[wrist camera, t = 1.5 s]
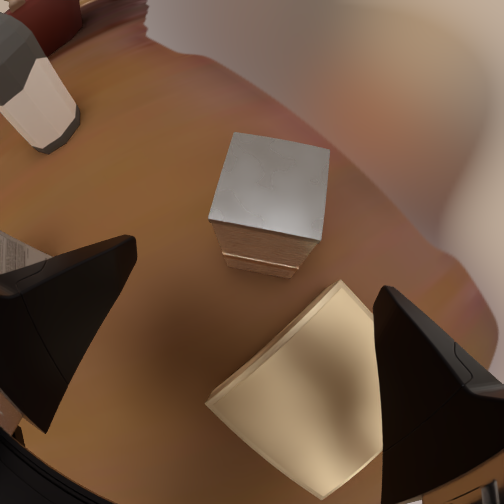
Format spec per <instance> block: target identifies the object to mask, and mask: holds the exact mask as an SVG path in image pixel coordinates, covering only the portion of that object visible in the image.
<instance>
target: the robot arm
mask: <svg viewBox="0 0 504 504" xmlns="http://www.w3.org/2000/svg"><path fill="white" fill-rule="evenodd" d="M136 261H137V247H136V239H135V237H134V236H130V235H121V236H118V237H115V238H111V239H108V240H105V241H101V242H98V243H95V244H92V245H89V246H85V247H82V248H79V249H76V250H73V251H70V252H67V253H64V254H61V255H58V256H55V257H52V258H49V259H48V260H47V259H46V260H43V261H40V262H37V263H34V264H32V265H29V266H25V267H22V268H19V269H16V270H13V271H9V272H6V273H3V274H0V504H117V503H115V502H113V501H111V500H109V499H106V498H104V497H102V496H100V495H98V494H96V493H95V492H93V491H91V490H89V489H87V488H85V487H83V486H82V485H80V484H78V483H76V482H75V481H73V480H71V479H70V478H68V477H67V476H65V475H63V474H62V473H60V472H59V471H57V470H56V469H54V468H53V467H51V466H50V465H48V464H47V463H45V462H44V461H43V460H41V459H40V458H39V457H37V456H36V455H35V454H33V453H32V452H31V451H29V450H28V449H27V448H26V447H25V444H24V439H23V435H22V430H21V427H19V426H18V424H19V423H20V421H21V419H22V417H23V418H24V419H26V420H27V421H28V422H30V423H31V424H32V425H34V426H35V427H36V428H38V429H39V430H40V431H42V432H43V433H45V434H46V433H47V431H48V429H49V427H50V424H51V422H52V420H53V417H54V415H55V413H56V411H57V409H58V406H59V404H60V402H61V400H62V398H63V396H64V394H65V392H66V389H67V387H68V385H69V383H70V381H71V379H72V377H73V375H74V373H75V371H76V369H77V367H78V365H79V364H80V362H81V360H82V358H83V356H84V354H85V352H86V351H87V349H88V347H89V345H90V343H91V342H92V340H93V338H94V336H95V335H96V333H97V331H98V329H99V328H100V326H101V324H102V323H103V321H104V319H105V317H106V316H107V314H108V313H109V311H110V309H111V308H112V306H113V304H114V303H115V301H116V300H117V298H118V296H119V295H120V293H121V291H122V289H123V287H124V285H125V283H126V281H127V279H128V277H129V275H130V273H131V271H132V269H133V267H134V265H135V263H136ZM373 321H374V344H375V353H376V361H377V369H378V378H379V389H380V401H381V416H382V441H383V465H382V495H381V504H407V503H411V502H415V501H419V500H422V504H504V384H502V383H501V382H500V381H498V380H497V379H496V378H495V377H494V376H493V375H492V374H491V373H490V372H488V371H487V370H486V369H485V368H484V367H483V366H482V365H480V364H479V363H478V362H477V361H476V360H475V359H474V358H473V357H471V356H470V355H469V354H468V353H467V352H466V351H465V350H464V349H463V348H462V347H461V346H460V345H459V344H458V343H457V342H454V340H453V339H452V338H451V337H450V336H449V335H448V334H447V333H446V332H445V331H444V330H442V329H441V328H440V327H439V326H438V325H437V324H436V323H435V322H434V321H433V320H431V319H430V318H429V317H428V316H427V315H426V314H425V313H423V312H422V311H421V310H420V309H419V308H418V307H417V306H415V305H414V304H413V303H412V302H411V301H410V300H409V299H407V298H406V297H405V296H404V295H403V294H401V293H400V292H399V291H398V290H397V289H395V288H394V287H391V286H386V285H384V286H383V287H382V288H381V290H380V292H379V294H378V296H377V298H376V300H375V302H374V305H373Z"/></svg>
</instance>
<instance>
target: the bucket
mask: <svg viewBox="0 0 504 504" xmlns="http://www.w3.org/2000/svg"><path fill="white" fill-rule="evenodd" d="M5 1H8V2H9V8H10V9H9V10H7V11H6V12H5V13H4V14H7V15H10V16H12V17H14V18H16V19H17V20H19V21H20V22H22V23H23V24H24V25H25V26H26V27H28V28H29V29H30V30H31V31H32V32H33V34H34V36H35V38H36V40H37V41H38V43H39V45H40V47H41V48H42V50H43V52H44V54H45V55H46V57H48V56H49V55H50V54H52V53H53V52H54V51H56V50H57V49H58V48H60V47H61V46H63V45H64V44H65V43H67V42H68V41H70V40H71V39H72V38H73V37H74V36H75V34H76V33H77V32H78V31H79V30H80V29H81V27H82V26H83V25H82V18H81V11H80V4H79V0H5Z"/></svg>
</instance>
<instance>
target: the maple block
mask: <svg viewBox="0 0 504 504" xmlns="http://www.w3.org/2000/svg"><path fill="white" fill-rule="evenodd" d="M205 405H206V406H207V407H208V408H209V409H210V410H211V411H212V412H213V413H214V414H215V415H216V416H217V417H218V418H219V419H220V420H221V421H223V422H224V423H225V424H226V425H227V426H228V427H229V428H230V429H231V430H232V431H233V432H234V433H235V434H236V435H238V436H239V437H240V438H241V439H242V440H243V441H244V442H245V443H246V444H248V445H249V446H250V447H251V448H252V449H253V450H255V451H256V452H257V453H258V454H259V455H261V456H262V457H263V458H264V459H265V460H267V461H268V462H269V463H270V464H272V465H273V466H274V467H275V468H277V469H278V470H279V471H281V472H282V473H283V474H285V475H286V476H287V477H289V478H290V479H291V480H293V481H294V482H296V483H297V484H298V485H300V486H301V487H303V488H304V489H306V490H307V491H308V492H310V493H311V494H313V495H314V496H316V497H318V498H319V499H321V500H323V499H324V498H326V497H327V496H328V495H330V494H331V493H332V492H334V491H335V490H337V489H338V488H339V487H340V486H342V485H343V484H344V483H346V482H347V481H348V480H349V479H351V478H352V477H353V476H354V475H355V474H357V473H358V472H359V471H360V470H361V469H362V468H364V467H365V466H366V465H367V464H368V463H369V462H370V461H371V460H373V459H374V458H375V457H376V456H377V455H378V454H379V453H380V452H381V451H382V450H383V441H382V416H381V401H380V389H379V378H378V369H377V361H376V353H375V344H374V321H373V314H372V313H371V312H370V311H369V310H368V308H367V307H366V306H365V305H364V304H363V303H362V302H361V301H360V300H359V299H358V298H357V296H356V295H355V294H354V293H353V292H352V291H351V290H350V289H349V288H348V287H347V286H346V285H345V284H344V283H343V281H342V280H339V281H337V282H335V283H334V284H332V285H330V286H328V287H327V288H325V289H324V290H323V291H322V292H321V293H320V294H319V295H318V296H317V297H316V298H315V299H314V300H313V301H312V302H311V303H310V304H309V305H308V306H307V307H306V308H305V309H304V310H303V311H302V312H301V313H300V314H299V315H298V316H297V317H296V318H295V319H294V320H293V321H292V322H290V323H289V324H288V325H287V326H286V327H285V328H284V329H283V330H282V331H281V332H280V333H279V334H278V335H277V336H276V337H274V338H273V339H272V340H271V341H270V342H269V343H268V344H267V345H266V346H265V347H263V348H262V349H261V350H260V351H259V352H258V353H257V354H256V355H254V356H253V357H252V358H251V359H250V360H249V361H248V362H246V363H245V364H244V365H243V366H242V367H241V368H239V369H238V370H237V371H236V372H235V373H234V374H232V375H231V376H230V377H229V378H228V379H226V380H225V381H224V382H223V383H222V384H220V385H219V386H218V387H217V388H215V389H214V390H213V391H212V393H211V394H210V396H209V398H208V399H207V401H206V402H205Z"/></svg>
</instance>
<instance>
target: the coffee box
mask: <svg viewBox="0 0 504 504" xmlns="http://www.w3.org/2000/svg"><path fill="white" fill-rule="evenodd" d="M49 258H52V256H50V255H48V254H46V253H44V252H41V251H39V250H37V249H35V248H33V247H31V246H29V245H27V244H25V243H23V242H21V241H19V240H17V239H16V238H13V237H11V236H9V235H8V234H6V233H4V232H2V231H1V230H0V274H3V273H6V272H9V271H13V270H16V269H19V268H22V267H25V266H29V265H32V264H34V263H37V262H40V261H43V260H46V259H47V260H48V259H49Z"/></svg>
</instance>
